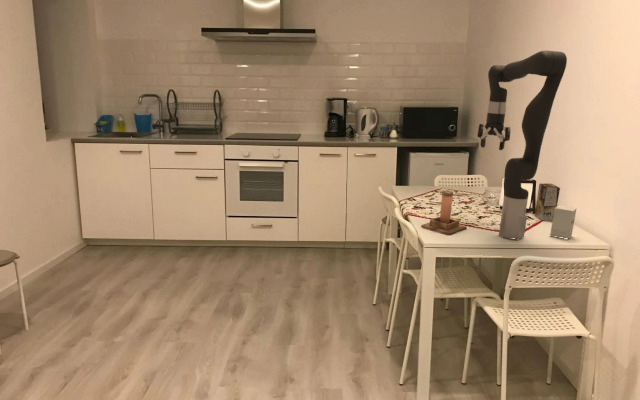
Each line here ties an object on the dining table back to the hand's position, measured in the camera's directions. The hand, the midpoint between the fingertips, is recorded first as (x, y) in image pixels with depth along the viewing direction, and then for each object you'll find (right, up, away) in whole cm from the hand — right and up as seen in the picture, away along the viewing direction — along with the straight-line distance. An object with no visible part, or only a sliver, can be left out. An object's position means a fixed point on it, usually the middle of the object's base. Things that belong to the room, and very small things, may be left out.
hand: (491, 148), depth 233 cm
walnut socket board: (-23, -35, -7) cm, 43 cm away
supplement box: (+25, -39, -12) cm, 48 cm away
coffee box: (+30, -32, +14) cm, 46 cm away
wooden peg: (-23, -34, -8) cm, 42 cm away
